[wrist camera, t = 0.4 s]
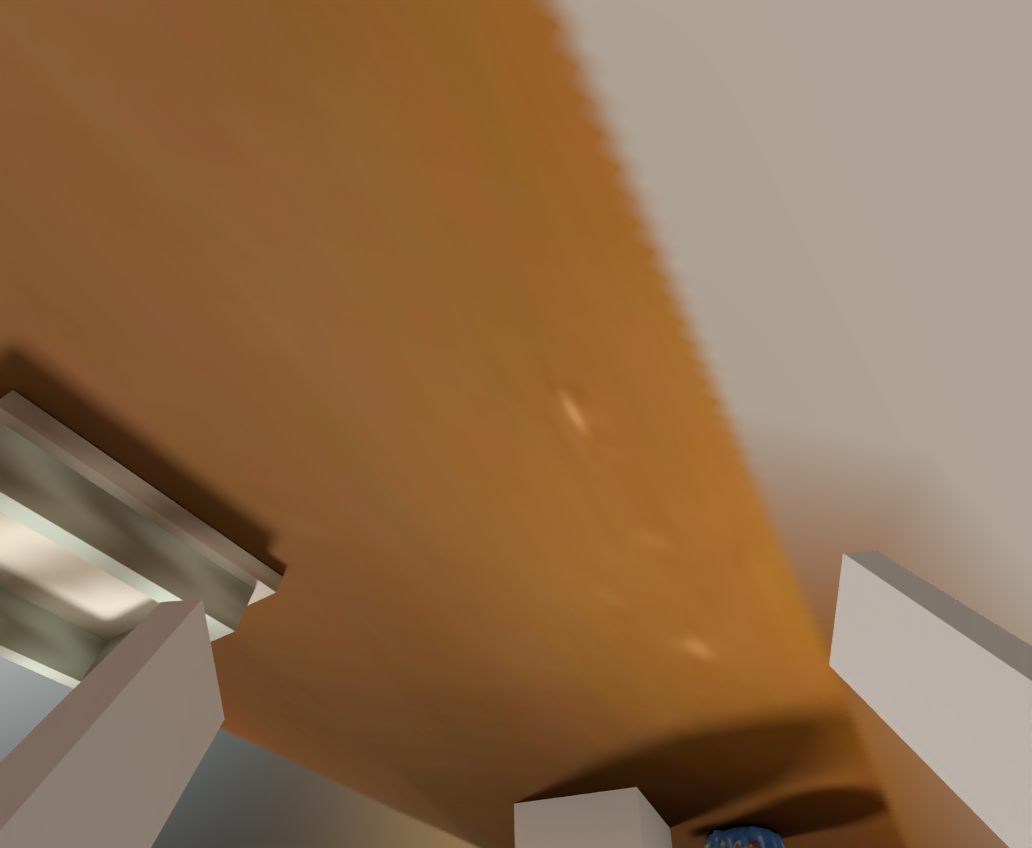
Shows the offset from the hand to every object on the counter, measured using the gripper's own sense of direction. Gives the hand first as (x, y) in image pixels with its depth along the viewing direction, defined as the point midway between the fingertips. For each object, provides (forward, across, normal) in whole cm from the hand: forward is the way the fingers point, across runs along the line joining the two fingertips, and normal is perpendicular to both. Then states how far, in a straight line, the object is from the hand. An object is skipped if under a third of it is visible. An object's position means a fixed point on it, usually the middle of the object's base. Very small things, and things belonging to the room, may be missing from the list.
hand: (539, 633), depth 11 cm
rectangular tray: (+19, -22, -6) cm, 30 cm away
